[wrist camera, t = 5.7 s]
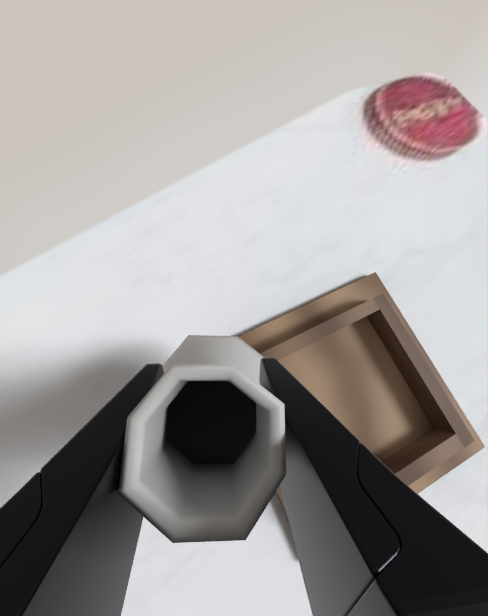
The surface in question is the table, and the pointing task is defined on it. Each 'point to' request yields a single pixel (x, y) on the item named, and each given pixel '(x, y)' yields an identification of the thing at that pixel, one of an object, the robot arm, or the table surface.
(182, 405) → the flask
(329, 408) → the holder
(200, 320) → the table surface
